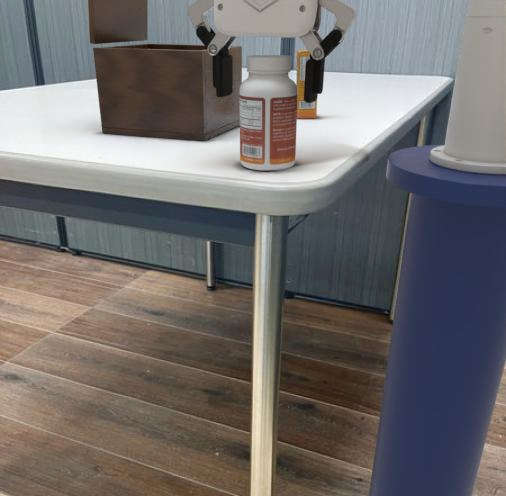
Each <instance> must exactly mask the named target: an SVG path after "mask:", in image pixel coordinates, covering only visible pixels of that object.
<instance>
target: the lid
mask: <svg viewBox="0 0 506 496" xmlns="http://www.w3.org/2000/svg"><path fill="white" fill-rule="evenodd" d="M148 1H149V0H87V9H88V11H87V12H88V29H89V44H92V45H103V44H116V43H130V42H145V41H146V42H147V41H148V39H149V37H148V35H149V34H148V32H149V27H148V25H149V23H148V21H149V19H148V18H149V15H148V14H149V12H148V11H149V10H148V8H149V7H148Z"/></svg>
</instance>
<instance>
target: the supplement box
mask: <svg viewBox="0 0 506 496" xmlns="http://www.w3.org/2000/svg"><path fill="white" fill-rule="evenodd" d="M309 59H310V53H309V51H308V50H307V49H299V50H298V49H297V50H296V82H295V84H296V86H297V94H298V96H297V119H301V120H303V119H306V120H307V119H316V118H317V115H318V113H317V111H318V99H317V100H316V101H314V102H312V103H306V102H305V101H304V86H305V68H306V61H308V60H309Z"/></svg>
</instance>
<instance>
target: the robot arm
mask: <svg viewBox="0 0 506 496" xmlns="http://www.w3.org/2000/svg"><path fill="white" fill-rule="evenodd" d="M323 9H325V10H326V11H328V12H329V13H331V14H333V15H334V16H335V19H336V20H335V23H334V25H333V28H332V30H331V31H330V32H329V33H328V34H327V35H326V36H325V37H324V38H323V37H322V36H321V34H320V33H319V29H320V27H321V23H322V22H321V21H322V12H323ZM211 11H213V22H214V27H215V29H216V30H217V32H215V30H213V28H212V27H211V26H210V25H209V21H208V18H207V17H208V14H209V13H210V12H211ZM186 12H187V15H188V17H189V20H190V22H191V24H192V26H193V28H194V29H195V34H196V37H197V38H198V39H199V40H200V42H201V43H202V45H205V46H206V48H207V49H208V53H209V54H210V55H212V65H213V87H214V88H216V96H217V97H225V96H229V95H231V94H232V92H233V58H232V56H231V55H229V48H230V47H231V46H233V44H234V43H235V42H236V40H237V39H238V37H252V38H253V37H254V38H289V39H290V38H299V39H300V41H301V42H302V43H303V45H304V46H305V48H306V50H308V51H309V53H310V59H309V60H308V61H306V68H305V86H304V101H305V102H306V103H312V102H314V101H316V100H317V101H318V95H321V94H322V93H323V90H324V81H325V80H324V79H325V78H324V77H325V63H326V59H327V58H328V57H329V56H330V55H331V53H332V52H334V50H335V49H336V48H337V47H338V46H339V45H340V44H341V43H342V42H343V41H344V39H345V37H346V35H347V33H348V32H349V30H350V29H351V26H352V25H353V22H354V21H355V19H356V16H357V11H356V9H355V8H353V7H351V6H350V5H348V4H347V3H345V2H344V1H342V0H196V1H195V2H194V3H192V4H191V5H189V6H188V7H187V11H186ZM447 121H448V122H447V128H446V132H445V133H446V134H445V140H444V144H443V145H444V146H439V147H436V148H433V149H432V150H431V152H430V157H429V159H430V161H431V162H432V163H434V164H436V165H438V166H441V167H444V168H448V169H452V170H457V171H462V172H469V173H478V174H491V175H506V0H467V4H466V11H465V16H464V23H463V28H462V33H461V40H460V47H459V52H458V59H457V65H456V71H455V77H454V83H453V90H452V96H451V103H450V109H449V115H448V120H447Z"/></svg>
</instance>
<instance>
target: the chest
mask: <svg viewBox="0 0 506 496" xmlns="http://www.w3.org/2000/svg"><path fill="white" fill-rule="evenodd" d="M92 51H93V59H94V69H95V79H96V89H97V97H98V98H97V99H98V106H99V114H100V125H101V132H102V134H109V135H121V136H135V137H147V138H148V137H149V138H161V139H171V140H173V139H174V140H184V141H185V140H187V141H199V142H201V141H202V142H206V141H208V140H209V139H212V138H214V137H216V136H219V135H220V134H223V133H225V132H227V131H230V130H232V129H234V128H237V127H240V99H239V98H240V97H239V91H240V85H241V83H242V82H243V46H242V45H232V46H231V47H230V48H229V55H231V56H232V58H233V92H232V94H231V95H229V96H225V97H217V96H216V88H214V87H213V65H212V55H210V54H209V53H208V49H207V48H206V46H205V45H204V44H181V43H180V44H178V43H177V44H176V43H136V44H134V43H133V44H121V45H110V46H99V47H98V46H97V47H93V48H92Z"/></svg>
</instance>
